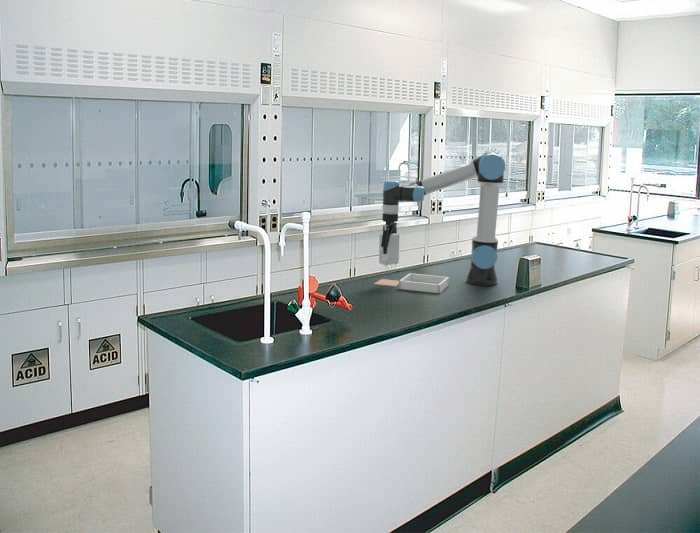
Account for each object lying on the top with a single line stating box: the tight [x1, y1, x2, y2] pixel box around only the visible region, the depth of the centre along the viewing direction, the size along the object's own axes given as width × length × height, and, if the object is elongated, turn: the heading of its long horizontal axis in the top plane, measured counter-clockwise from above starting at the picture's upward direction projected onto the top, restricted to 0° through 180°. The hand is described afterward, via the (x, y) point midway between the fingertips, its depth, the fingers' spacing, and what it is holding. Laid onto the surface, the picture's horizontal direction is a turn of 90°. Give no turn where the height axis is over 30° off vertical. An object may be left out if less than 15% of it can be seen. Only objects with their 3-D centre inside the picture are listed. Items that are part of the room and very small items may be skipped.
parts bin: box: [398, 272, 450, 294], centre depth 335 cm, size 20×18×4 cm
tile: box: [373, 278, 399, 288], centre depth 341 cm, size 11×11×1 cm
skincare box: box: [378, 233, 400, 266], centre depth 337 cm, size 8×6×15 cm
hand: (388, 258), depth 339 cm, fingers closed on skincare box, 10 cm apart
